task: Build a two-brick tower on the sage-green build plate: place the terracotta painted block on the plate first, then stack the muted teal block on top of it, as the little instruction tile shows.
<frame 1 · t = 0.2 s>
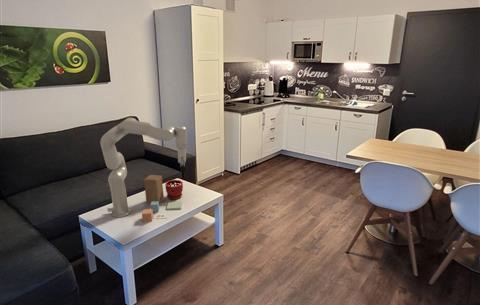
hand: (183, 169, 215), 31 cm above the table, fingers open, 9 cm apart
brick terracotta: (148, 219, 211), on the table
build plate: (174, 206, 229), on the table
instruction page: (160, 216, 215), on the table
plant pot: (175, 197, 244), on the table
brick teal: (155, 210, 223), on the table
wooden block: (155, 202, 236), on the table
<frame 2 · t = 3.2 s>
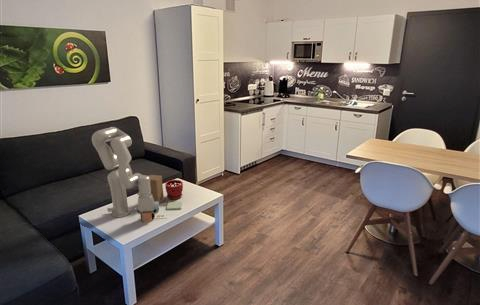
hand: (147, 218, 211), 1 cm above the table, fingers closed on brick terracotta, 6 cm apart
brick terracotta: (148, 219, 211), on the table, touching gripper
everything else where it was.
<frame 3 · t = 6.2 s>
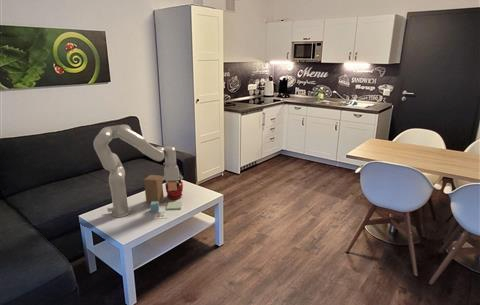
hand: (172, 187, 225), 15 cm above the table, fingers closed on brick terracotta, 6 cm apart
brick terracotta: (173, 188, 225), point 14 cm above the table, touching gripper
everything else where it was.
when the fingers open (3 cm above the table, at t = 8.9 s): brick terracotta drops 1 cm, resting on build plate.
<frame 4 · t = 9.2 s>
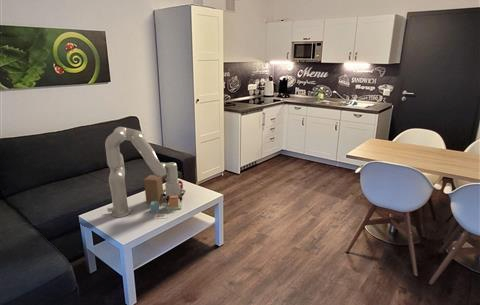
hand: (174, 201, 228), 4 cm above the table, fingers open, 9 cm apart
brick terracotta: (174, 204, 229), point 1 cm above the table, touching build plate
everything else where it was.
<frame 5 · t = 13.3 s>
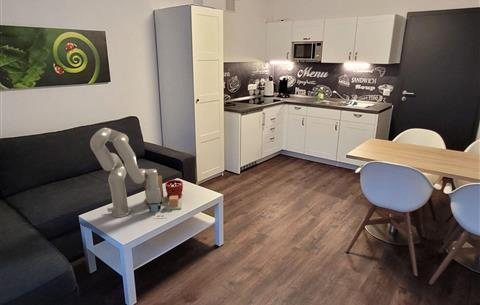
hand: (155, 210, 223), 0 cm above the table, fingers closed on brick teal, 5 cm apart
brick teal: (155, 210, 223), on the table, touching gripper
everything else where it was.
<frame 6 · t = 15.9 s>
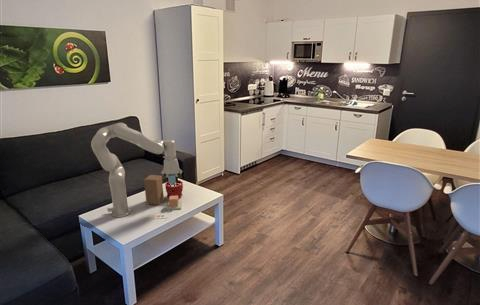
hand: (172, 181, 223), 19 cm above the table, fingers closed on brick teal, 5 cm apart
brick teal: (172, 182, 223), point 19 cm above the table, touching gripper
everything else where it was.
when the fingers open (9 cm above the table, at t = 18.7 s): brick teal drops 1 cm, resting on brick terracotta.
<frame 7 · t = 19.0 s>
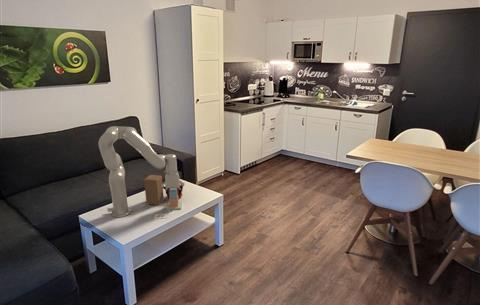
hand: (173, 194, 226), 9 cm above the table, fingers open, 8 cm apart
brick terracotta: (174, 204, 229), point 1 cm above the table, touching brick teal, build plate
brick teal: (173, 197, 227), point 7 cm above the table, touching brick terracotta
everything else where it was.
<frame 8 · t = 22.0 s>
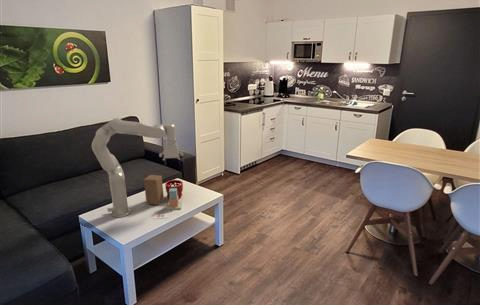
hand: (172, 164, 225), 30 cm above the table, fingers open, 9 cm apart
nothing on the table moved.
at the end: brick terracotta inside the target area on the build plate (0.1 cm from its centre), point 1.2 cm above the build plate's base; brick teal 0.1 cm off-centre on the brick terracotta, point 6.0 cm above the brick terracotta's base; brick teal tilted 0° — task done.
